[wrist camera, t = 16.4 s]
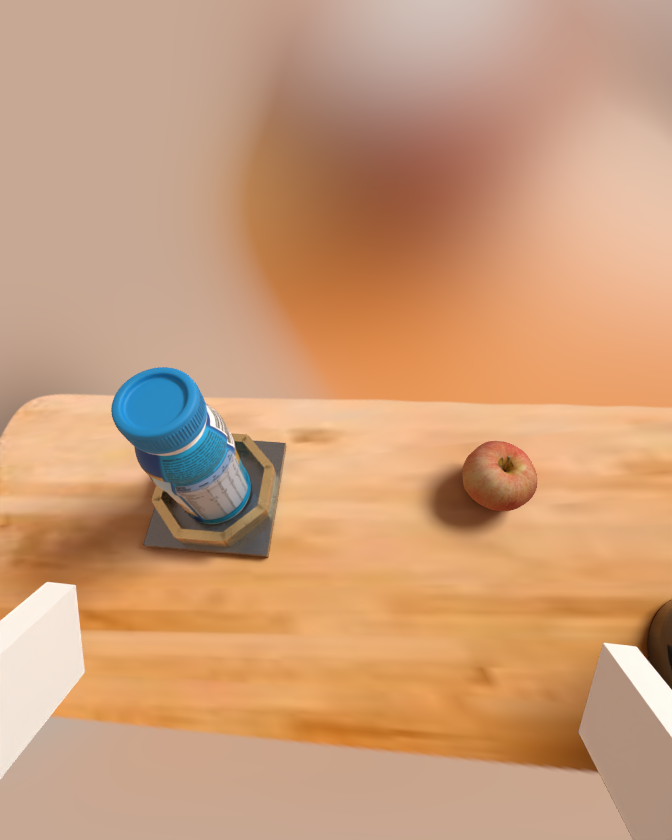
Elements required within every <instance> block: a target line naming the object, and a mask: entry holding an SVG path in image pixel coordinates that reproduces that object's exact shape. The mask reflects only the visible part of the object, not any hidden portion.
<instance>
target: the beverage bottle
mask: <svg viewBox="0 0 672 840" xmlns="http://www.w3.org/2000/svg"><path fill="white" fill-rule="evenodd" d="M112 417H113V420H114V422H115V425H116V427H117V428H118V430H119V431H120V432H121V433H122V434H123V435H124V436H125V437H126V439H127V440H128V441H130V443H131V444H132V445H134V446H135V453H136V457H137V460H138V462H139V464H140V466H141V467H142V469H143V470H144V471H145V472H146V473H147V474H148V475H149V476H150V478H151V479H152V481H153V482H154V483H155V484H156V485H157V486H158V487H159V488H160V489H162V490H163V491H165V492H167V493H168V494H169V495H170V496H171V497H172V498H173V499H174V500H175V501H176V502H177V503H178V504H179V505H180V506H181V507H182V508H183V509H184V510H185V512H186V513H187V514H188V515H189V516H190V517H191V518H193V519H194V520H196V521H198V522H201V523H205V524H218V523H222V522H225V521H227V520H230V519H231V518H233V517H234V516H236V515H237V514H238V513H239V512H240V511H241V510H242V509H243V508H244V506H245V505H246V503H247V501H248V499H249V496H250V492H251V482H250V478H249V475H248V473H247V471H246V469H245V468H244V466H243V464H242V462H241V460H240V457H239V455H238V453H237V451H236V448H235V442H234V439H233V437H232V435H231V433H230V431H229V430H228V428H227V427H226V425H225V422H224V421H223V419H222V417H221V416H220V415H219V414H218V413H217V412H216V411H215V410H214V409H213V408H212V407H210V406H209V405H207V404H206V403H205V401H204V399H203V396H202V394H201V392H200V390H199V388H198V386H197V385H196V383H194V381H193V380H192V379H191V378H190V377H189V376H188V375H187V374H185V373H184V372H182V371H179V370H177V369H173V368H164V367H163V368H153V369H149V370H146V371H143V372H141V373H138V374H137V375H135V376H133V377H132V378H130V379H129V380H128V381H127V382H125V383H124V384H123V385H122V386H121V388H120V389H119V390H118V392H117V393H116V395H115V397H114V400H113V403H112Z"/></svg>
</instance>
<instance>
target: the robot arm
mask: <svg viewBox="0 0 672 840" xmlns="http://www.w3.org/2000/svg"><path fill="white" fill-rule="evenodd" d="M648 654H649V661H650V663H649V661H648V660H647V659H646V658H645V657H644V655H643V654H642V653H641V652H640V650H639V649H638V648H637V647H636V646H627V645H618V644H609V643H603V645H602V649H601V653H600V656H599V660H598V663H597V667H596V671H595V674H594V678H593V681H592V685H591V689H590V692H589V696H588V699H587V703H586V706H585V710H584V714H583V717H582V721H581V724H580V728H579V732H578V733H579V735H580V737H581V739H582V741H583V743H584V744H585V746H586V748H587V750H588V752H589V754H590V756H591V758H592V760H593V762H594V764H595V766H596V768H597V770H598V772H599V774H600V776H601V777H602V780H603V782H604V784H605V786H606V788H607V789H608V792H609V793H610V795H611V797H612V799H613V801H614V803H615V805H616V807H617V809H618V811H619V813H620V815H621V817H622V819H623V821H624V823H625V825H626V827H627V829H628V831H629V833H630V835H631V837H632V838H633V840H672V600H671V601H669V602H667V603H666V604H665V605H664V606H663V607H662V608H661V609H660V610H659V611H658V612H657V614H656V615H655V617H654V619H653V621H652V624H651V627H650V631H649V637H648ZM84 673H85V671H84V661H83V652H82V642H81V632H80V622H79V613H78V603H77V593H76V585H71V584H62V583H53V582H46V583H45V584H44V585H43V586H41V587H40V588H39V589H38V590H37V591H35V592H34V593H33V594H32V595H31V596H29V597H28V598H27V599H26V600H25V601H23V602H22V603H21V604H20V605H19V606H17V607H16V608H15V609H14V610H13V611H11V612H10V613H9V614H8V615H7V616H5V617H4V618H3V619H2V620H1V621H0V779H1V778H2V776H3V775H4V774H5V773H6V771H7V770H8V769H9V768H10V766H11V765H12V764H13V763H14V761H15V760H16V759H17V757H18V756H19V755H20V754H21V752H22V751H23V750H24V748H25V747H26V746H27V745H28V743H29V742H30V741H31V740H32V738H33V737H34V736H35V734H36V733H37V732H38V731H39V730H40V728H41V727H42V726H43V724H44V723H45V722H46V720H48V718H49V717H50V716H51V714H52V713H53V712H54V711H55V709H56V708H57V707H58V706H59V704H60V703H61V702H62V701H63V699H64V698H65V697H66V695H67V694H68V693H69V692H70V690H71V689H72V688H73V687H74V685H75V684H76V683H77V682H78V680H79V679H80V678H81V677H82V675H83V674H84Z"/></svg>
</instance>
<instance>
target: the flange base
mask: <svg viewBox="0 0 672 840" xmlns="http://www.w3.org/2000/svg"><path fill="white" fill-rule="evenodd" d="M231 435H232V437H233V439H234V442H235V448H236V451H237V453H238V455H239V457H240V460H241V462H242V464H243V466H244V468H245V469H246V471H247V473H248V475H249V478H250V482H251V492H250V496H249V499H248V501H247V503H246V505H245V506H244V508H243V509H242V510H241V511H240V512H239V513H238V514H237V515H236V516H234V517H233V518H231V519H230V520H227V521H225V522H222V523H218V524H205V523H201V522H198V521H196V520H194V519H193V518H191V517H190V516H189V515H188V514H187V513H186V512H185V510H184V509H183V508H182V507H181V506H180V505H179V504H178V503H177V502H176V501H175V500H174V499H173V498H172V497H171V496H170V495H169V494H168V493H167V492H165V491H163V490H162V489H160V488H159V487H158V486H157V485H156V487H155V490H154V493H153V496H152V499H151V500H152V501H151V502H152V503H153V505H154V506H155V509H154V513H153V516H152V519H151V522H150V525H149V528H148V531H147V535H146V538H145V541H144V544H143V545H144V546H146V547H151V548H163V549H174V550H186V551H198V552H210V553H222V554H234V555H245V556H257V557H269V551H270V544H271V538H272V532H273V526H274V520H275V513H276V507H277V501H278V495H279V488H280V482H281V476H282V470H283V464H284V457H285V451H286V444H285V443H277V442H263V441H253V440H252V439H251V438H250V437H249V436H247V435H244V434H231Z"/></svg>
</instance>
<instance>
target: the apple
mask: <svg viewBox="0 0 672 840" xmlns="http://www.w3.org/2000/svg"><path fill="white" fill-rule="evenodd" d="M463 484H464V488H465V490H466V492H467V493H468V494H469V496H470V497H471V498H472V499H473V500H475V501H476V502H477V503H478V504H480V505H482V506H484V507H486V508H488V509H491V510H495V511H510V510H514V509H516V508H519V507H520V506H522V505H524V504H525V503H526V502H528V501H529V500H530V499H531V498H532V497H533V495H534V493H535V491H536V488H537V474H536V471H535V468H534V466H533V464H532V462H531V461H530V459H529V457H528V456H527V455H526V454H525V453H524V452H523V451H522V450H521V449H519V448H517V447H516V446H514V445H512V444H509V443H506V442H500V441H490V442H486V443H484V444H482V445H480V446H479V447H478V448H477V449H475V450H474V451H473V452H472V453H471V454H470V455H469V456H468V457H467V459H466V461H465V463H464V466H463Z"/></svg>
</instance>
